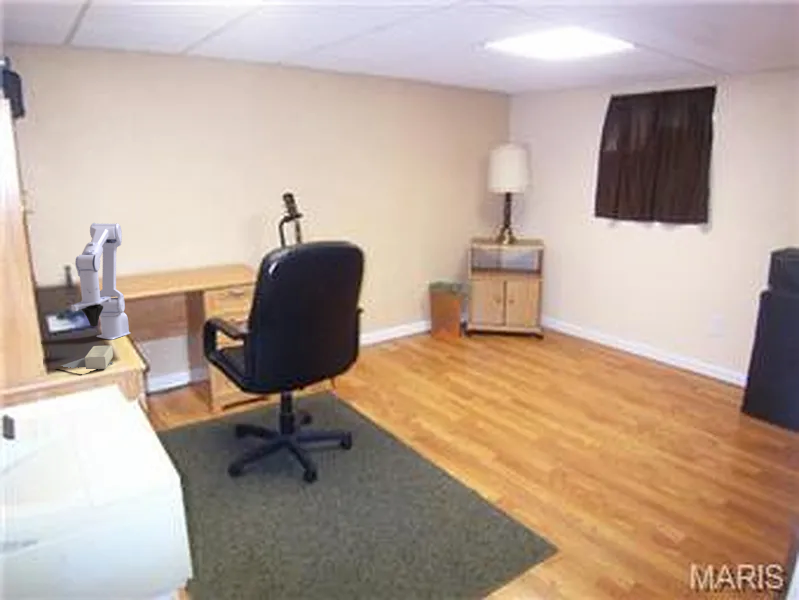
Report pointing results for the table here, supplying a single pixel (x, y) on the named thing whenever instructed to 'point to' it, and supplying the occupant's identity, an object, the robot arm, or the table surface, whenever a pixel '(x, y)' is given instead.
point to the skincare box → (98, 357)
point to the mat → (77, 363)
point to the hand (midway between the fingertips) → (94, 325)
